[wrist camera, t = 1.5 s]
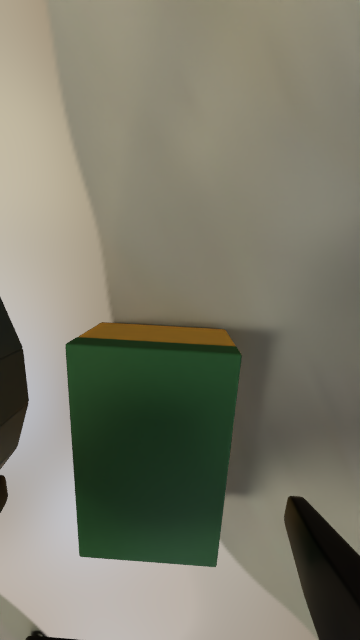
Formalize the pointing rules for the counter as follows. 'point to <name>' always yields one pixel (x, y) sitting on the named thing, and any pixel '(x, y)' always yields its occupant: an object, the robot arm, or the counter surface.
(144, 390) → the sponge
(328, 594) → the robot arm
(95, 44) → the counter surface
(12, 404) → the bowl
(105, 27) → the counter surface
